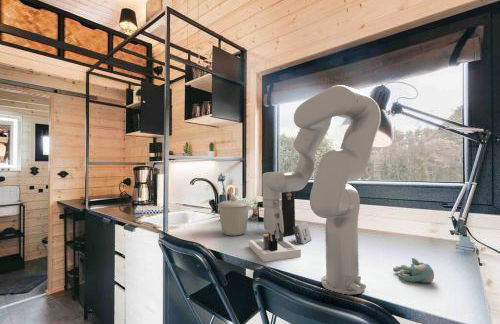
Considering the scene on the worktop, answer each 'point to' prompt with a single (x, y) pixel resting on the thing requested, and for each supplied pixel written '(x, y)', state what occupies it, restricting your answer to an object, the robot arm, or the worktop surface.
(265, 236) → the block
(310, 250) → the worktop surface
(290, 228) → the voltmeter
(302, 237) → the electrical switch
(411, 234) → the worktop surface
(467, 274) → the worktop surface
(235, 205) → the canister
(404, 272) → the stuffed animal
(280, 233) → the block
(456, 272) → the worktop surface
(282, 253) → the white slotted tray
